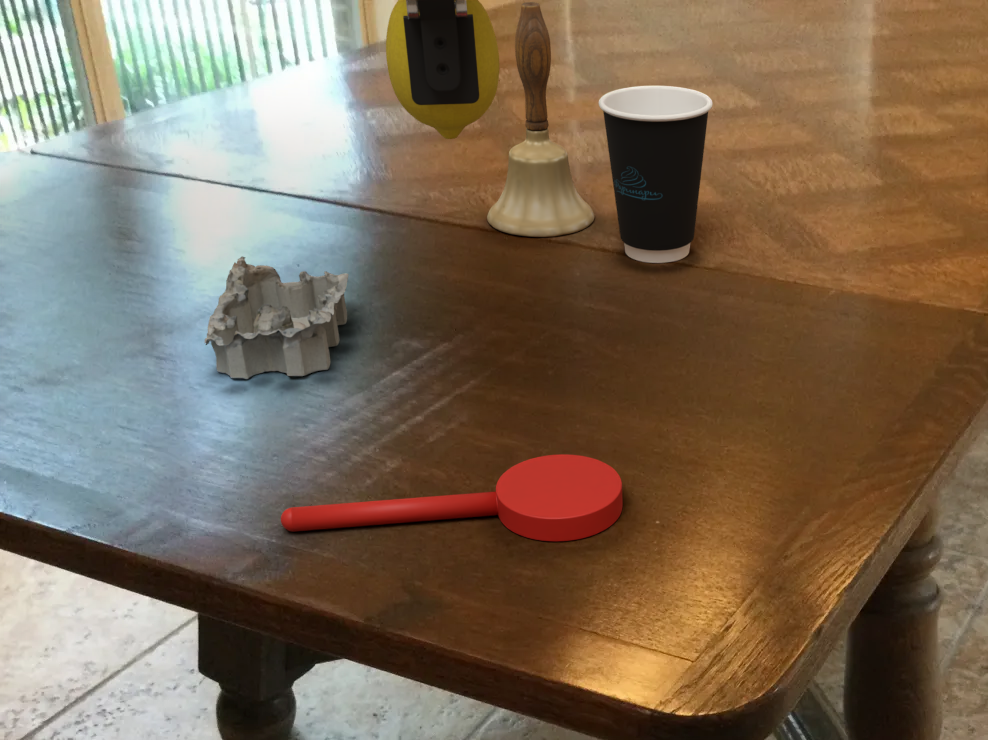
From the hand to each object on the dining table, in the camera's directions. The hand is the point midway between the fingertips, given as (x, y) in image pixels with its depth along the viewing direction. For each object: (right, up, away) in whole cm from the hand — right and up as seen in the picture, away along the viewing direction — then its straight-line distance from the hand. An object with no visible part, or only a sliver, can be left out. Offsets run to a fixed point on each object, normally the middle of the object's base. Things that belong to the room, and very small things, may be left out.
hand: (445, 81), depth 68 cm
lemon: (0, -3, +2) cm, 3 cm away
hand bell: (0, +2, +37) cm, 37 cm away
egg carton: (-14, -11, +18) cm, 25 cm away
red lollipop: (0, -22, +1) cm, 22 cm away
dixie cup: (+9, -2, +32) cm, 33 cm away
